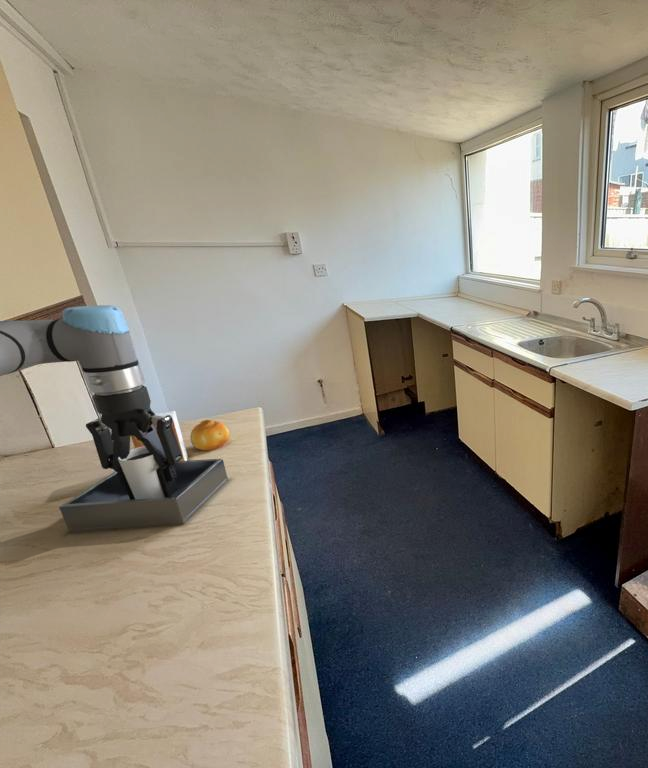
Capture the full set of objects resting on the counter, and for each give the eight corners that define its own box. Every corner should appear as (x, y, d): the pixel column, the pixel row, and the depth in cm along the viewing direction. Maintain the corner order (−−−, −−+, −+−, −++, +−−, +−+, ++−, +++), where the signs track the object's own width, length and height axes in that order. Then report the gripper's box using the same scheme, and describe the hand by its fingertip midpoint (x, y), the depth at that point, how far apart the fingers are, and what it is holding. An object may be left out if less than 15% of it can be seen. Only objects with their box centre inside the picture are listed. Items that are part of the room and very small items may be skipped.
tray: (70, 534, 74) (58, 506, 72) (134, 487, 89) (126, 464, 87) (184, 525, 76) (176, 498, 74) (228, 481, 91) (222, 458, 89)
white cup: (162, 484, 86) (149, 442, 83) (183, 490, 84) (170, 448, 80) (125, 501, 80) (109, 457, 77) (146, 508, 78) (130, 463, 75)
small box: (143, 477, 93) (126, 426, 89) (147, 466, 98) (131, 417, 93) (187, 466, 97) (173, 418, 93) (188, 456, 102) (175, 410, 98)
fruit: (211, 448, 101) (214, 417, 103) (180, 451, 101) (183, 420, 103) (234, 450, 109) (236, 421, 111) (205, 452, 109) (208, 423, 111)
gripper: (43, 398, 70) (87, 509, 77) (159, 393, 72) (192, 502, 79) (81, 385, 77) (118, 488, 84) (186, 381, 79) (214, 481, 86)
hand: (154, 494), depth 82 cm, fingers closed on white cup, 6 cm apart
